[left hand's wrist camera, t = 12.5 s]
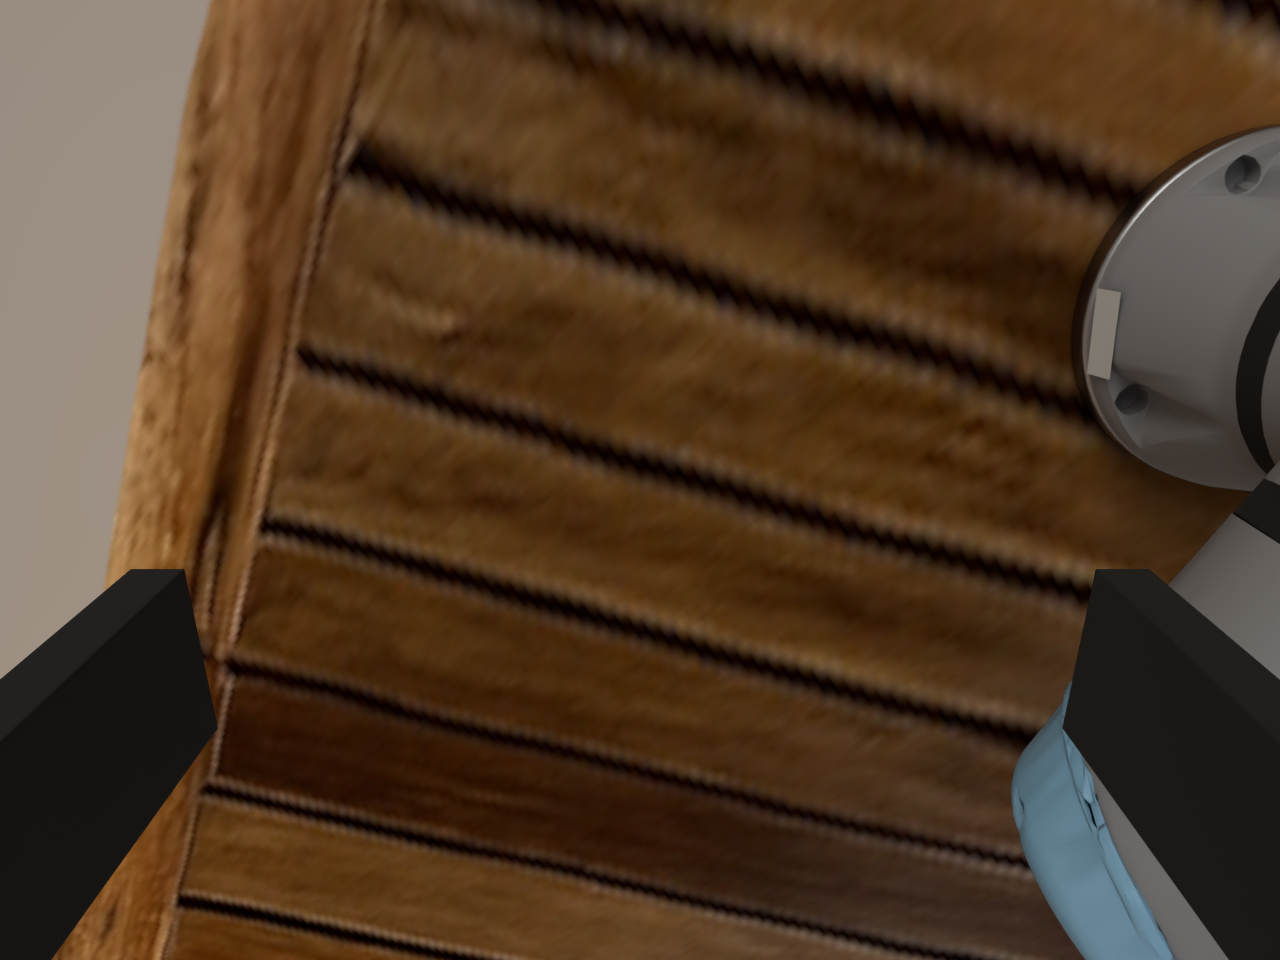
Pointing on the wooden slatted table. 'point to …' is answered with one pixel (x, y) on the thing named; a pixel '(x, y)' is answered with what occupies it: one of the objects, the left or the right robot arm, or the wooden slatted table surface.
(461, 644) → the wooden slatted table surface
